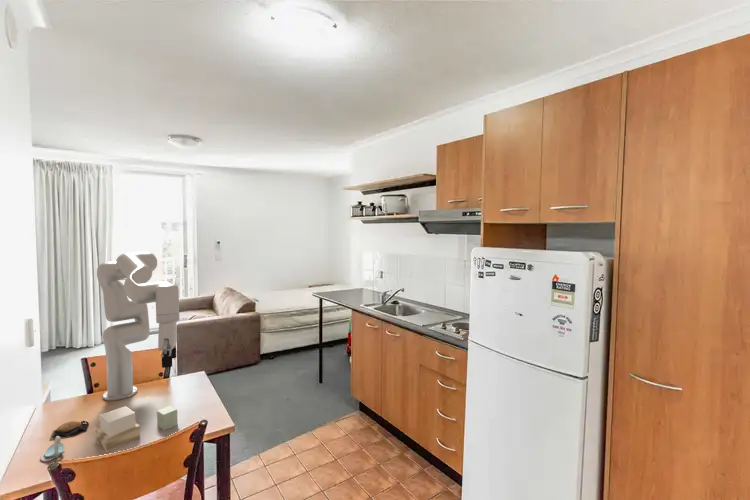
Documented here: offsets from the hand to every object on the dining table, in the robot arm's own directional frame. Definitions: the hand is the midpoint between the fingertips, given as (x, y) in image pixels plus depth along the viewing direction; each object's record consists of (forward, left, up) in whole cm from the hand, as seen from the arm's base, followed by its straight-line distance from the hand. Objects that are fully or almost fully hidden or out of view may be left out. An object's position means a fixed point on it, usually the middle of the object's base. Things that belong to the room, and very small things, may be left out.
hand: (169, 362), depth 136 cm
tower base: (-6, -15, -25) cm, 30 cm away
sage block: (-2, 0, -25) cm, 25 cm away
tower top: (-6, -15, -20) cm, 26 cm away
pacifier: (-13, -31, -25) cm, 42 cm away
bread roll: (-26, -23, -26) cm, 43 cm away
